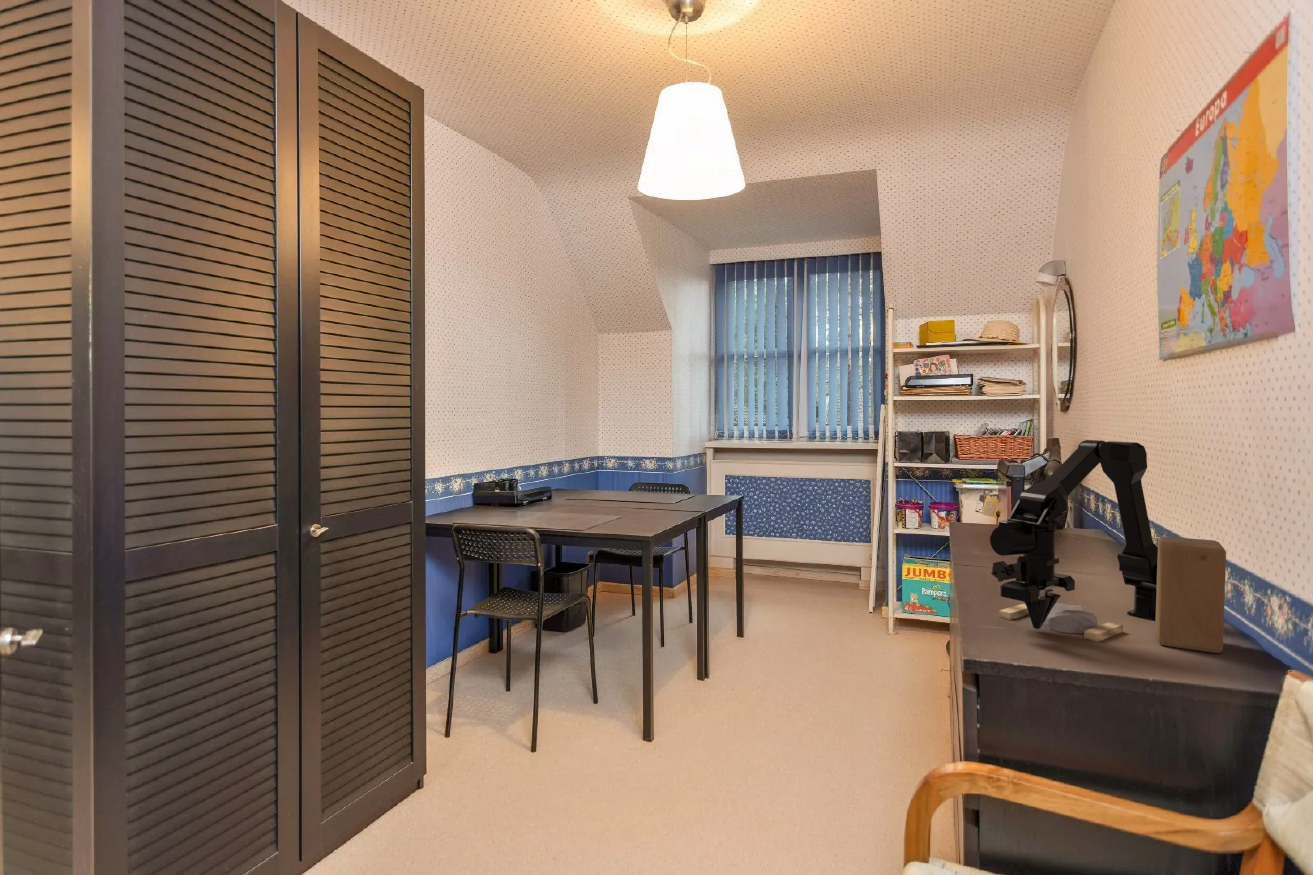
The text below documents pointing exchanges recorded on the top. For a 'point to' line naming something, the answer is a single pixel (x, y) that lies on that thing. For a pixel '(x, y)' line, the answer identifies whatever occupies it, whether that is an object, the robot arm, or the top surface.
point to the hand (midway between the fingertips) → (1036, 628)
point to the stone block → (1070, 619)
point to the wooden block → (1190, 594)
